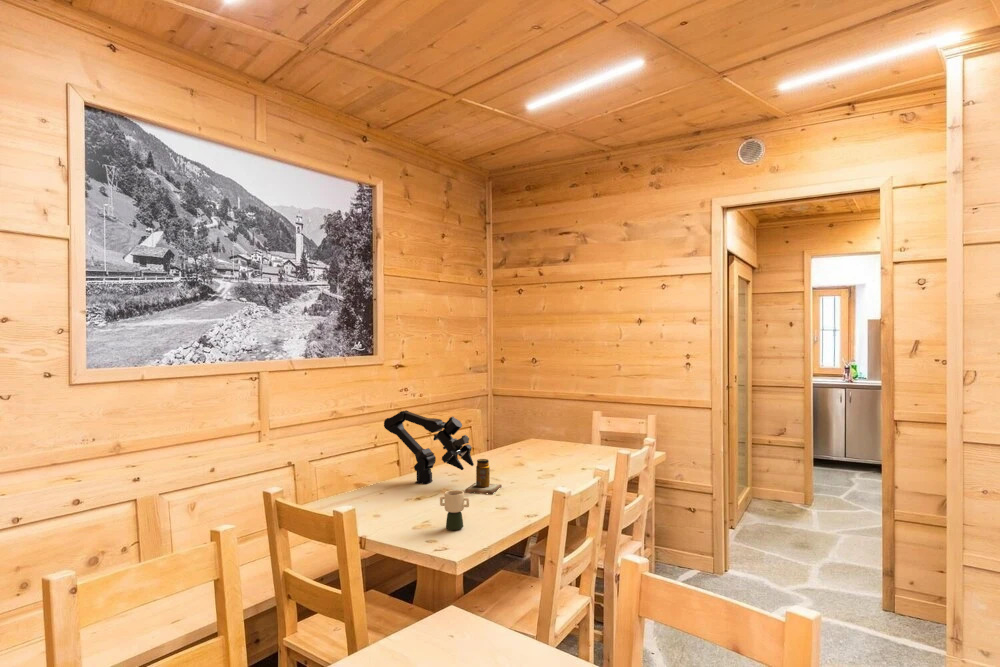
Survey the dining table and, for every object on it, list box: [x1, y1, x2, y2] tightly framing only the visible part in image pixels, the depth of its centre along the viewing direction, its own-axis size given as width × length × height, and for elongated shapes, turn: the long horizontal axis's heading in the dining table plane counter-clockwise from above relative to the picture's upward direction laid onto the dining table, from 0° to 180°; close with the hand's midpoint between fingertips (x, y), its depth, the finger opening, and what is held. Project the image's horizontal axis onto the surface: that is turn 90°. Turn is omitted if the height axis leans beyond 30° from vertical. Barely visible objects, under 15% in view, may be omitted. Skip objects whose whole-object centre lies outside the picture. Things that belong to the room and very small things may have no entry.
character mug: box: [439, 489, 470, 531], centre depth 205 cm, size 11×7×13 cm, turn 78°
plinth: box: [464, 482, 503, 495], centre depth 259 cm, size 13×13×2 cm
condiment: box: [471, 458, 492, 489], centre depth 259 cm, size 7×8×12 cm
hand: (468, 467), depth 263 cm, fingers open, 9 cm apart
